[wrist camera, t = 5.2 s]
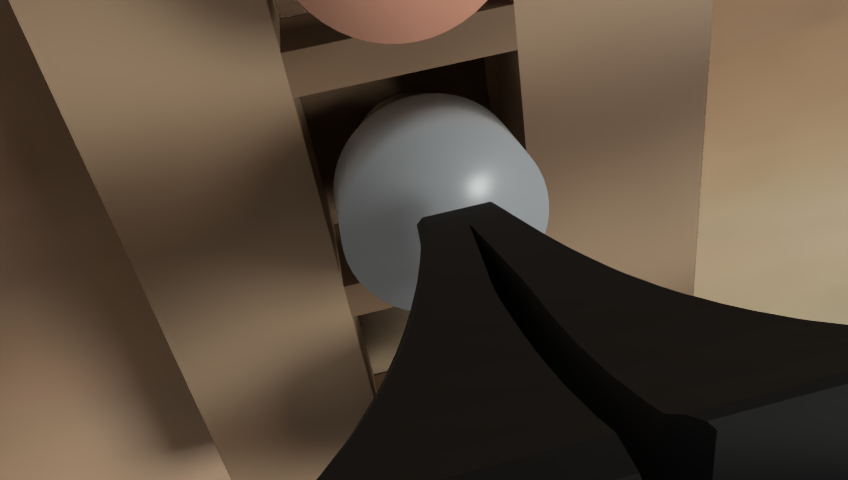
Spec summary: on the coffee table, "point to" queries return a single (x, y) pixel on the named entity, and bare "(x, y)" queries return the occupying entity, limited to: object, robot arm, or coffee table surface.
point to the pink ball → (392, 17)
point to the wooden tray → (304, 191)
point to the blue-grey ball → (424, 182)
